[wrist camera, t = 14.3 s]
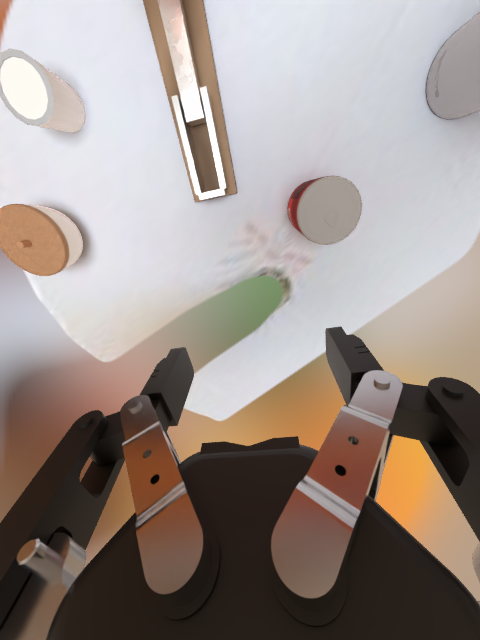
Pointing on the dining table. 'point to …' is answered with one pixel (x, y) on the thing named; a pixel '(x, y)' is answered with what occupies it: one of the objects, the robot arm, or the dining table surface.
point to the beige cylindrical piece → (38, 94)
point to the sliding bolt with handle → (183, 60)
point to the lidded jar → (39, 238)
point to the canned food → (325, 209)
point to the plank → (206, 78)
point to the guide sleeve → (190, 148)
